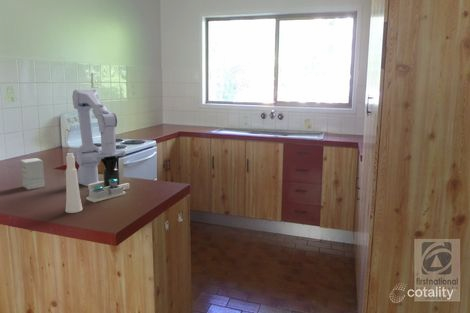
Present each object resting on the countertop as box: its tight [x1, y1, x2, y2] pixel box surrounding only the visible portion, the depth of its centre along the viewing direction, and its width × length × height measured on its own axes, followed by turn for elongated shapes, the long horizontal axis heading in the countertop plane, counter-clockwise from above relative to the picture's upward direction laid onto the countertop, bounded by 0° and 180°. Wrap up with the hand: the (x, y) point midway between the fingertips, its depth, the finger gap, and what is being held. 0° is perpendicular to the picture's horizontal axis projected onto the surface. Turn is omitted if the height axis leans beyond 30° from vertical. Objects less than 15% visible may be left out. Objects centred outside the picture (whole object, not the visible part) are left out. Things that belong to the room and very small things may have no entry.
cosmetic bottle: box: [65, 152, 84, 214], centre depth 140 cm, size 6×6×22 cm
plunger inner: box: [109, 179, 118, 189], centre depth 160 cm, size 4×4×4 cm
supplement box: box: [20, 157, 46, 191], centre depth 171 cm, size 7×7×13 cm
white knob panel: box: [86, 180, 130, 203], centre depth 165 cm, size 18×21×4 cm
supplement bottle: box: [102, 163, 121, 188], centre depth 170 cm, size 7×7×12 cm
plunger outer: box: [94, 186, 104, 192], centre depth 156 cm, size 4×4×4 cm
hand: (110, 174), depth 159 cm, fingers closed
